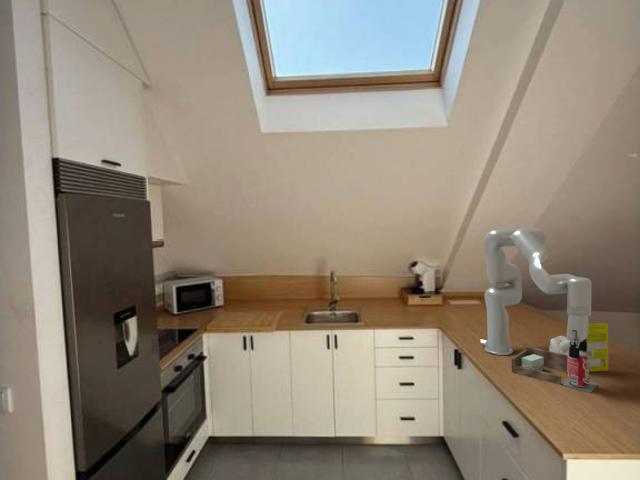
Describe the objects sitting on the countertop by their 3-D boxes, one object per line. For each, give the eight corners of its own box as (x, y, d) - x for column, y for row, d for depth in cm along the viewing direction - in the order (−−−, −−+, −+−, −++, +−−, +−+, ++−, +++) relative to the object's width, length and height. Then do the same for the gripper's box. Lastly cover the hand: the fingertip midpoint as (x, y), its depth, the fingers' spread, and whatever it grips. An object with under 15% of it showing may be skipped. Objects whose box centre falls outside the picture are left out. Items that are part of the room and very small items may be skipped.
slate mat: (562, 385, 146) (562, 384, 146) (570, 378, 152) (570, 377, 152) (590, 392, 139) (590, 391, 139) (597, 385, 145) (597, 383, 145)
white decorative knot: (575, 354, 178) (575, 335, 177) (581, 363, 167) (581, 343, 166) (547, 352, 182) (547, 333, 182) (552, 360, 171) (551, 341, 171)
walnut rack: (511, 372, 160) (511, 355, 160) (526, 361, 171) (526, 346, 171) (560, 384, 147) (560, 366, 146) (573, 372, 157) (572, 355, 157)
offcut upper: (521, 364, 161) (521, 357, 161) (533, 361, 165) (533, 354, 165) (531, 368, 157) (531, 360, 157) (543, 364, 161) (543, 357, 161)
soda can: (588, 383, 146) (588, 351, 146) (590, 389, 140) (590, 357, 139) (566, 379, 149) (566, 349, 149) (567, 385, 143) (567, 354, 143)
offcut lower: (521, 372, 160) (521, 365, 160) (531, 367, 166) (530, 360, 166) (533, 376, 156) (533, 368, 156) (543, 370, 162) (543, 363, 162)
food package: (607, 370, 159) (607, 322, 158) (609, 371, 158) (609, 323, 157) (571, 371, 158) (570, 324, 157) (573, 373, 157) (572, 325, 156)
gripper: (574, 304, 153) (573, 346, 154) (560, 312, 141) (559, 357, 143) (596, 307, 147) (596, 350, 148) (584, 316, 136) (583, 363, 137)
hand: (578, 354), depth 145 cm, fingers open, 9 cm apart
